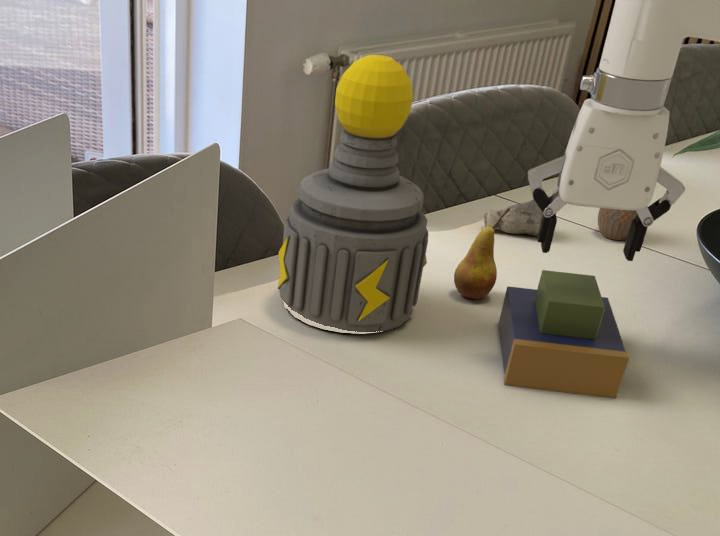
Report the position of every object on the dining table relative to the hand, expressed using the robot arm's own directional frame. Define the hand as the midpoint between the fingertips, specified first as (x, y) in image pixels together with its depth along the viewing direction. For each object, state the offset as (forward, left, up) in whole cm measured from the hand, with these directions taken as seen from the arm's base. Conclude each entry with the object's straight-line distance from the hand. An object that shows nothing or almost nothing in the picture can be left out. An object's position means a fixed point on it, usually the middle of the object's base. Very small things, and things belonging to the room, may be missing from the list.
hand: (585, 252), depth 117 cm
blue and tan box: (0, 0, -13) cm, 13 cm away
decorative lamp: (+27, -8, -14) cm, 31 cm away
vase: (-14, -49, -14) cm, 52 cm away
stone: (+2, -45, -14) cm, 47 cm away
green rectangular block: (0, 0, -8) cm, 8 cm away
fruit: (+10, -17, -14) cm, 24 cm away
